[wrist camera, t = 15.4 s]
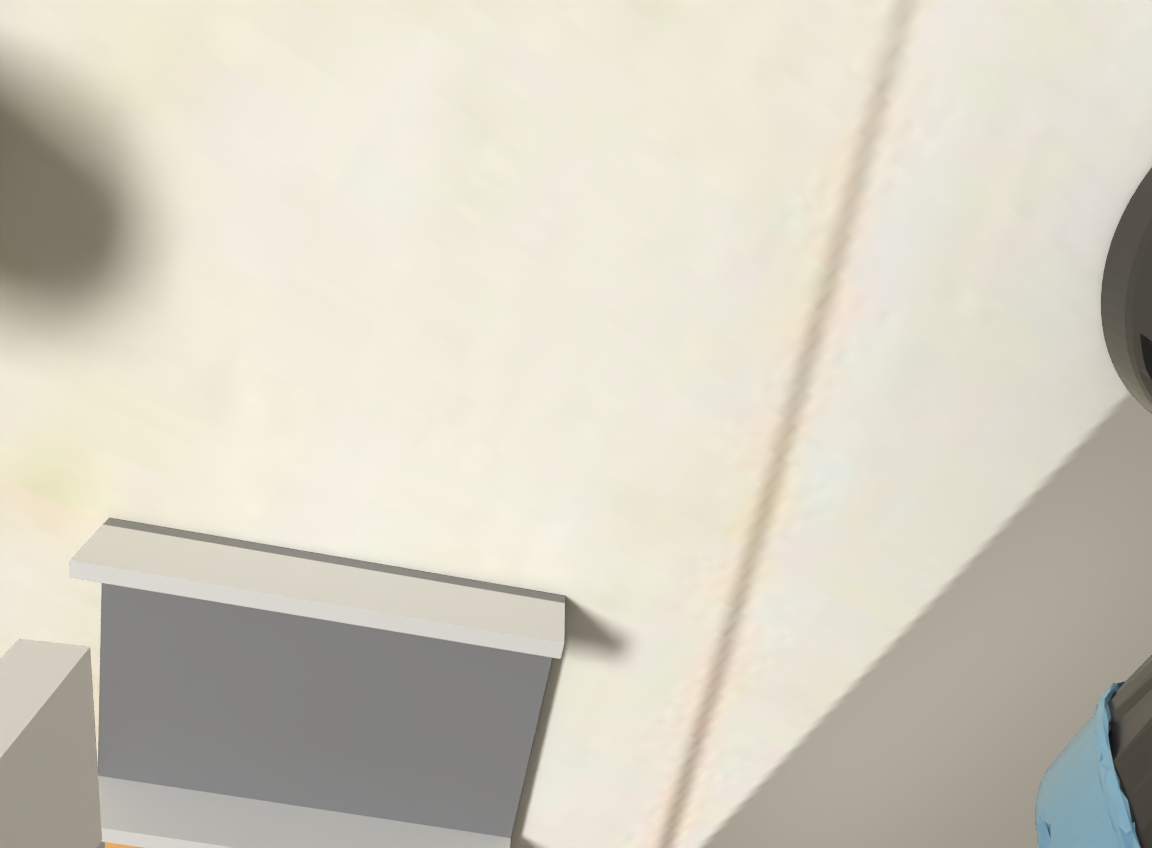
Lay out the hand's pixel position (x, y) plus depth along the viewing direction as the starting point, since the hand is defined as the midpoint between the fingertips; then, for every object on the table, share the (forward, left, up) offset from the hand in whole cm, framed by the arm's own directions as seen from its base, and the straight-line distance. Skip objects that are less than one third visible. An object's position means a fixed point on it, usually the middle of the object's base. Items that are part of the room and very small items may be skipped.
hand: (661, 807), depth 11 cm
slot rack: (+8, +30, -29) cm, 42 cm away
